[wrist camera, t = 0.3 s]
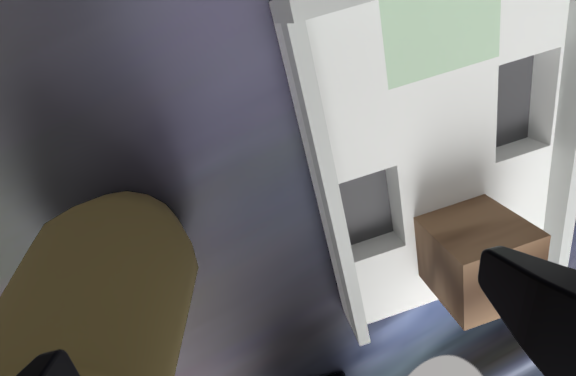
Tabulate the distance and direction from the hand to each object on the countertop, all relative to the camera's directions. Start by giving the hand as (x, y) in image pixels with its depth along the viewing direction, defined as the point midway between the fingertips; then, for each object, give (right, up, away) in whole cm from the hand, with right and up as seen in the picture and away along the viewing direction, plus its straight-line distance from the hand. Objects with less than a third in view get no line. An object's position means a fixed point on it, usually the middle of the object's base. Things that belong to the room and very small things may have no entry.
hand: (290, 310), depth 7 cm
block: (+11, -1, +16) cm, 20 cm away
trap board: (+9, +5, +16) cm, 19 cm away
